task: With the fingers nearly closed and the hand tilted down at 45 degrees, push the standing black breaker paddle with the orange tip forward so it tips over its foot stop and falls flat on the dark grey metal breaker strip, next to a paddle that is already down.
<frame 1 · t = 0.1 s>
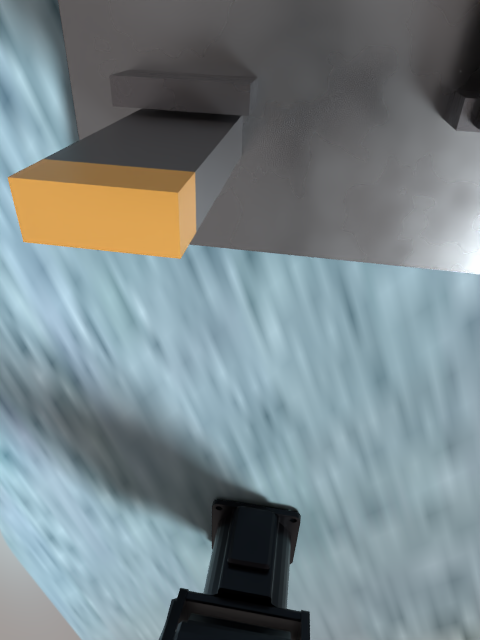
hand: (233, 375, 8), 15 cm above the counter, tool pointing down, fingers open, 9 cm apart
breaker strip: (344, 123, 19), on the counter
breaker paddle: (193, 131, 19), point 1 cm above the counter, touching breaker strip
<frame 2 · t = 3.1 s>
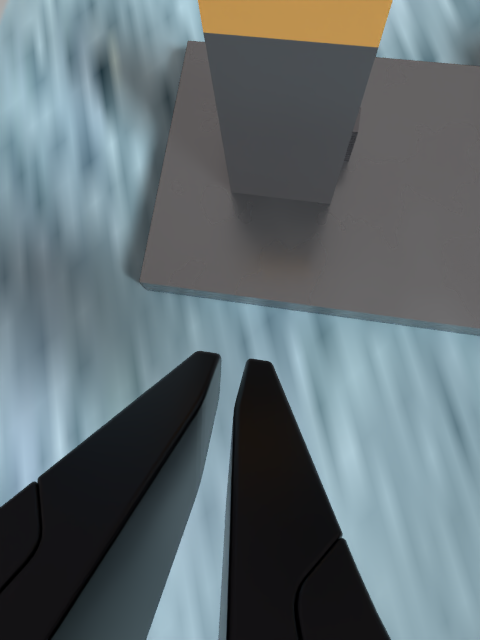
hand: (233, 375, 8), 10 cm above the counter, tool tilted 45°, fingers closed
breaker strip: (426, 199, 19), on the counter
breaker paddle: (283, 179, 18), point 1 cm above the counter, touching breaker strip
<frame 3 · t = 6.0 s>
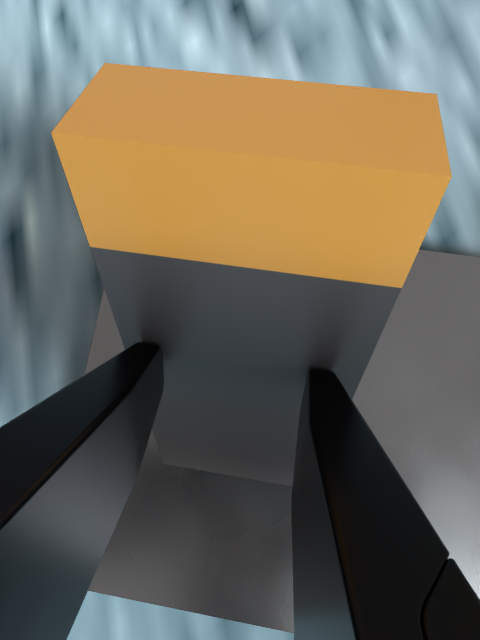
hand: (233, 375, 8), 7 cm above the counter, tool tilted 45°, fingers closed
breaker strip: (445, 441, 14), on the counter
breaker paddle: (241, 448, 13), point 2 cm above the counter, tilted 26°, touching breaker strip
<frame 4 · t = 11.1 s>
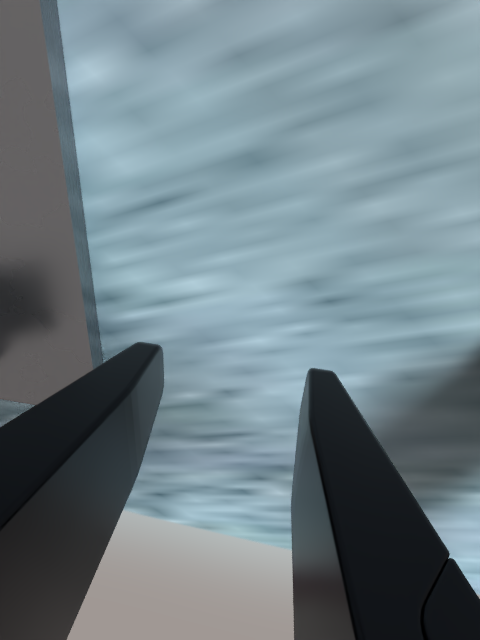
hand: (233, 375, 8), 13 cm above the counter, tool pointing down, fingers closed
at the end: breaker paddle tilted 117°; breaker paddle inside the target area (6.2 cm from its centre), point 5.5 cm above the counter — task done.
